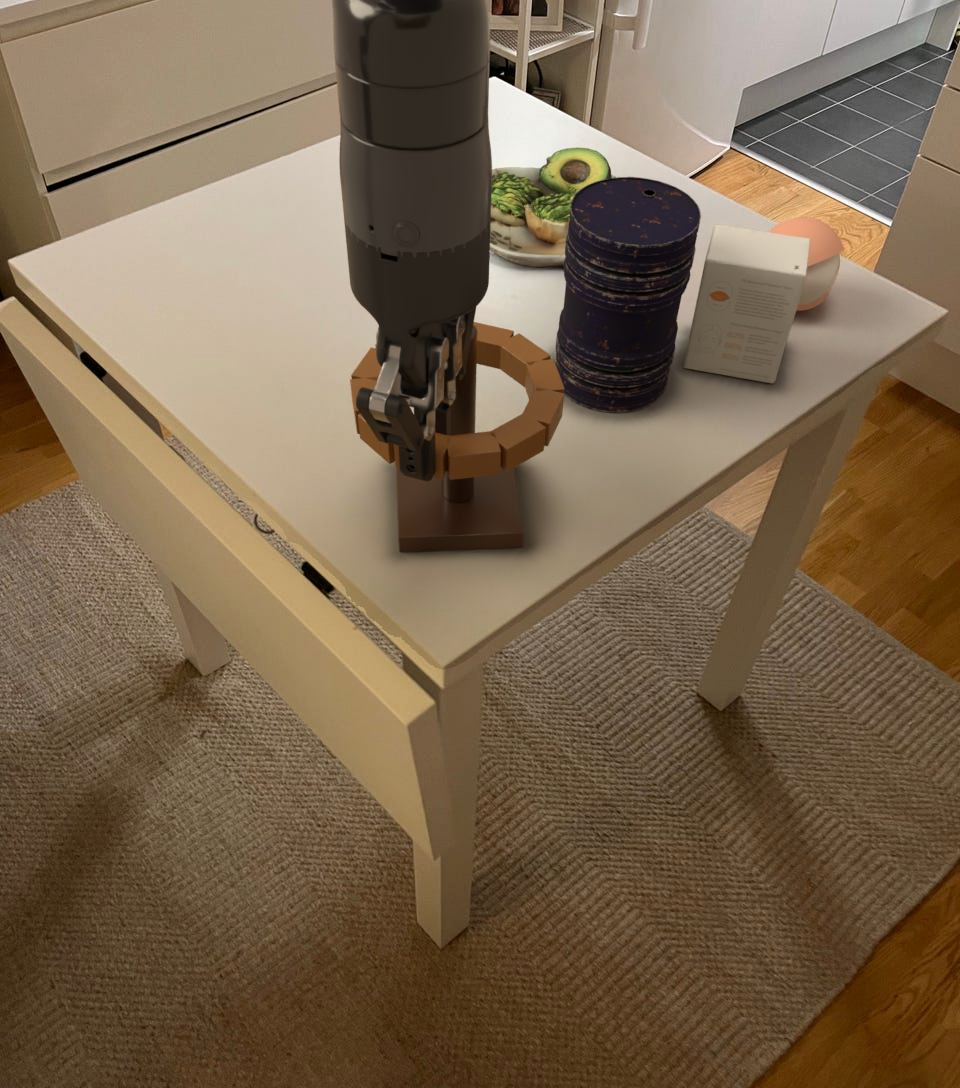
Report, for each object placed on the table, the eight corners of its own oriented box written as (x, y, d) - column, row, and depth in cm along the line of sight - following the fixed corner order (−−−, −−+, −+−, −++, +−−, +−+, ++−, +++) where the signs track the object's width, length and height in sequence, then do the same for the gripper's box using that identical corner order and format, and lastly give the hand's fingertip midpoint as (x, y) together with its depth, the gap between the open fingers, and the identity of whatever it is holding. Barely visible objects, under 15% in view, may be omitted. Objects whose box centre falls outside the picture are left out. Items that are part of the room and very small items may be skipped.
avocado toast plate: (661, 285, 94) (669, 240, 90) (472, 287, 93) (472, 241, 89) (632, 181, 105) (638, 137, 102) (464, 181, 105) (464, 137, 101)
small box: (780, 348, 88) (814, 237, 80) (774, 386, 85) (809, 275, 76) (690, 331, 89) (714, 221, 81) (680, 369, 86) (705, 257, 78)
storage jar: (643, 428, 81) (675, 260, 69) (534, 391, 84) (547, 224, 72) (684, 361, 87) (720, 196, 75) (580, 329, 89) (599, 164, 77)
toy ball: (783, 338, 89) (808, 257, 83) (725, 295, 93) (744, 215, 87) (846, 310, 92) (875, 230, 86) (787, 270, 96) (810, 190, 89)
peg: (399, 552, 72) (388, 377, 60) (396, 467, 78) (386, 291, 65) (522, 547, 73) (536, 373, 60) (511, 463, 78) (522, 287, 66)
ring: (365, 489, 63) (363, 466, 61) (345, 355, 71) (342, 331, 70) (581, 465, 64) (584, 441, 63) (536, 337, 73) (537, 313, 71)
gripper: (401, 132, 55) (412, 386, 69) (289, 261, 47) (326, 519, 61) (529, 157, 54) (514, 411, 67) (436, 295, 46) (440, 551, 59)
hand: (425, 461), depth 64 cm, fingers closed on ring, 2 cm apart
